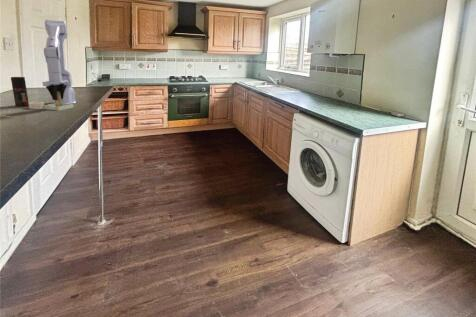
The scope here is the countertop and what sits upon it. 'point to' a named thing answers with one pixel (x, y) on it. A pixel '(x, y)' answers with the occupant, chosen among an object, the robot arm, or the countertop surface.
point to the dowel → (58, 100)
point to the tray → (52, 107)
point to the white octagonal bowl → (36, 105)
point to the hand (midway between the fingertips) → (58, 99)
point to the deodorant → (19, 91)
